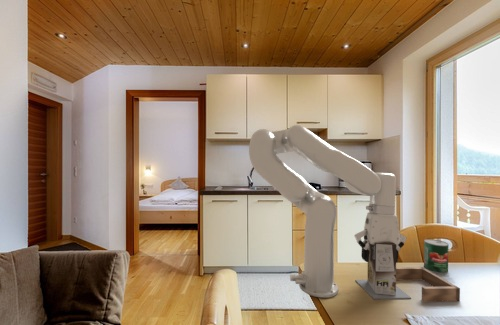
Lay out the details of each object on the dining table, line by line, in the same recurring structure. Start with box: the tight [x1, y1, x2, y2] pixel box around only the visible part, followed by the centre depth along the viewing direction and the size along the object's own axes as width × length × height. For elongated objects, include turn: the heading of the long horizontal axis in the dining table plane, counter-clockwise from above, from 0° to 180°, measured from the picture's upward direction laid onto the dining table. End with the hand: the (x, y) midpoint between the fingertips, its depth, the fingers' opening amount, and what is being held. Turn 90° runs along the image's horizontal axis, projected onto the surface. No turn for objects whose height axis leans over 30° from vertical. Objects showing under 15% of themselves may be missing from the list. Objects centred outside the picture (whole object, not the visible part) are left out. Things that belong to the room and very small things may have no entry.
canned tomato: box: [423, 238, 450, 275], centre depth 100 cm, size 8×8×11 cm
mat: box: [354, 279, 412, 300], centre depth 84 cm, size 12×12×1 cm
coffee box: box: [367, 243, 397, 296], centre depth 84 cm, size 9×6×16 cm
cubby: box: [396, 266, 461, 303], centre depth 84 cm, size 11×15×4 cm
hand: (379, 260), depth 84 cm, fingers open, 9 cm apart
